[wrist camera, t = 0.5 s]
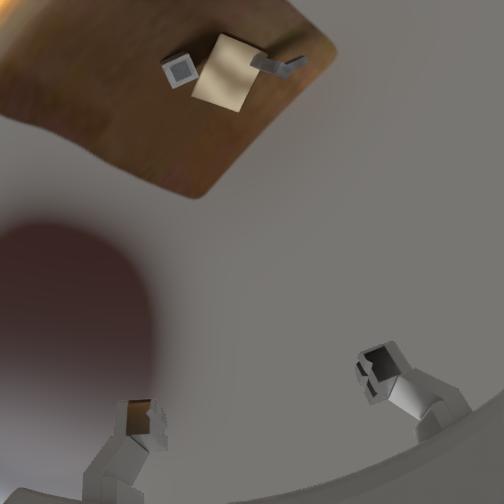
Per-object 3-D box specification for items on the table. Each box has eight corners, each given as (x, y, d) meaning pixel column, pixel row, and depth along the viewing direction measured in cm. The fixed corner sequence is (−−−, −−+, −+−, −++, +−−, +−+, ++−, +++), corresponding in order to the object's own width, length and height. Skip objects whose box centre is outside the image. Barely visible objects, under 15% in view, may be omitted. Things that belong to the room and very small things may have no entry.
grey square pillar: (159, 61, 39) (161, 65, 33) (182, 51, 39) (189, 53, 33) (168, 81, 42) (173, 89, 36) (191, 71, 42) (199, 77, 36)
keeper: (223, 27, 38) (245, 25, 30) (277, 52, 44) (310, 59, 35) (190, 95, 45) (203, 111, 36) (245, 114, 50) (269, 135, 42)
